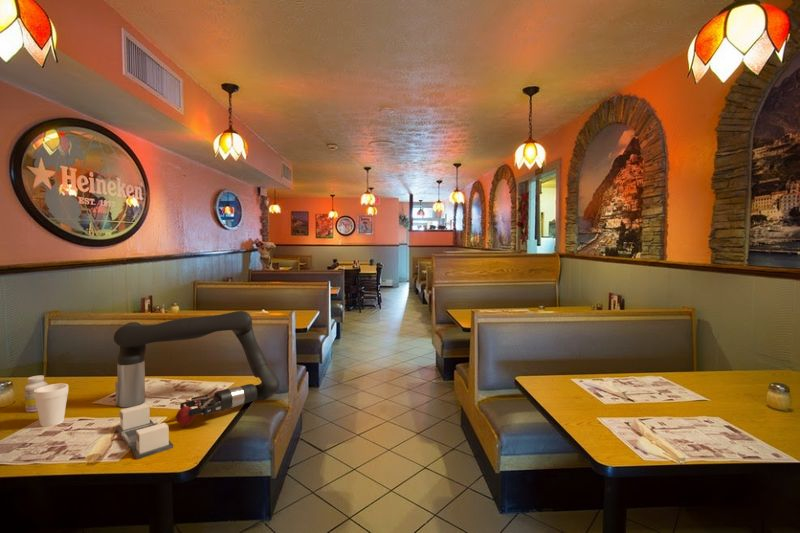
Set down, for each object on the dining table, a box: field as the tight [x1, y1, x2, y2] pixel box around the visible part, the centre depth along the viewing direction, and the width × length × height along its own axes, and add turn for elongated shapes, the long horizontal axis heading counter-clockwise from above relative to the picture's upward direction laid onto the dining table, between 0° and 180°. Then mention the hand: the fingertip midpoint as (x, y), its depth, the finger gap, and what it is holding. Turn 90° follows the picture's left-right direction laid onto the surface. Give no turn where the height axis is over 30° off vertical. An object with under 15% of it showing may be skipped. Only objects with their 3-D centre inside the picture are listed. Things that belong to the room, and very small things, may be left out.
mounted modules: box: [119, 403, 170, 454], centre depth 132 cm, size 26×8×6 cm, turn 46°
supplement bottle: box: [24, 374, 49, 413], centre depth 153 cm, size 7×7×13 cm
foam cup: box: [34, 383, 69, 428], centre depth 142 cm, size 10×9×13 cm
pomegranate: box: [175, 404, 195, 427], centre depth 141 cm, size 6×6×8 cm
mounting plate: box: [115, 419, 174, 460], centre depth 132 cm, size 28×11×2 cm, turn 46°
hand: (184, 409), depth 141 cm, fingers open, 8 cm apart
